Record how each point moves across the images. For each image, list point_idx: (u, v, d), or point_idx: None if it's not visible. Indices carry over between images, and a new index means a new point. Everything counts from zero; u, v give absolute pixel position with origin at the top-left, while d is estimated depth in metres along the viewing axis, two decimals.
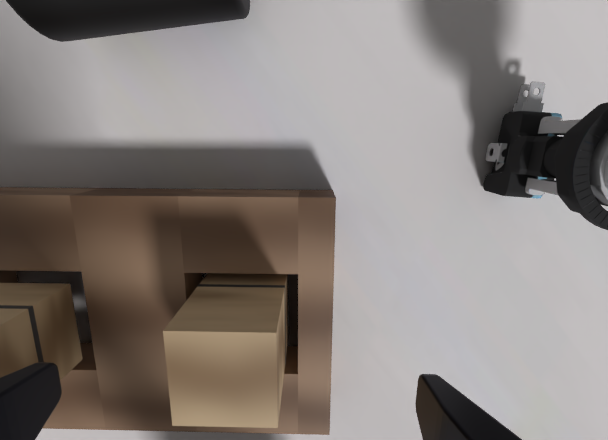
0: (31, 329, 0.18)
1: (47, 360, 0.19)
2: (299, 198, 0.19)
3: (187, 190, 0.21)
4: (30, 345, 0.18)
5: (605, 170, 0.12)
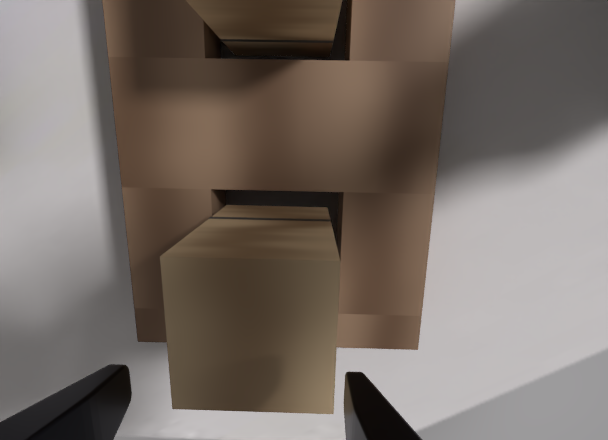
0: (235, 219, 0.14)
1: (290, 217, 0.15)
2: None
3: None
4: (253, 221, 0.14)
5: None
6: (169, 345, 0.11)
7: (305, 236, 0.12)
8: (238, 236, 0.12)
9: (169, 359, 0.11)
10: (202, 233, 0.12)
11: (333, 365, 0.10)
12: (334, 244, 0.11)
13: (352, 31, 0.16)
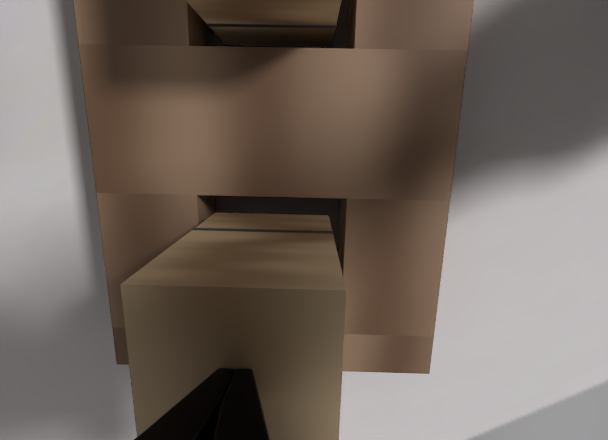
0: (223, 231, 0.13)
1: (286, 228, 0.13)
2: None
3: None
4: (242, 233, 0.12)
5: None
6: (135, 390, 0.09)
7: (302, 254, 0.10)
8: (222, 253, 0.10)
9: (135, 408, 0.09)
10: (180, 250, 0.10)
11: (337, 416, 0.09)
12: (338, 265, 0.09)
13: (358, 14, 0.14)
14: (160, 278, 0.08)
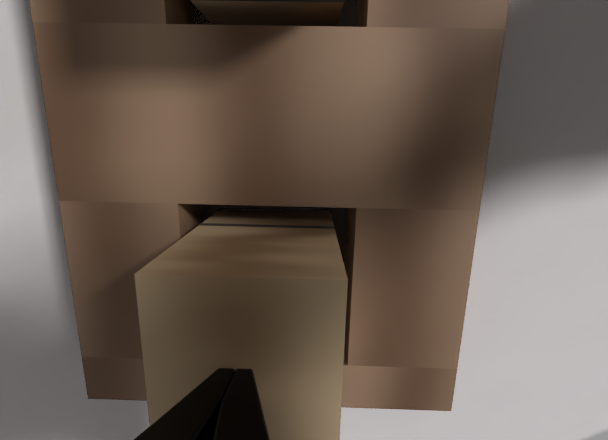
0: (228, 226, 0.13)
1: (289, 224, 0.14)
2: None
3: None
4: (247, 228, 0.13)
5: None
6: (147, 375, 0.09)
7: (305, 247, 0.11)
8: (229, 246, 0.11)
9: (147, 392, 0.09)
10: (188, 243, 0.11)
11: (339, 400, 0.09)
12: (340, 257, 0.10)
13: None
14: (171, 268, 0.09)
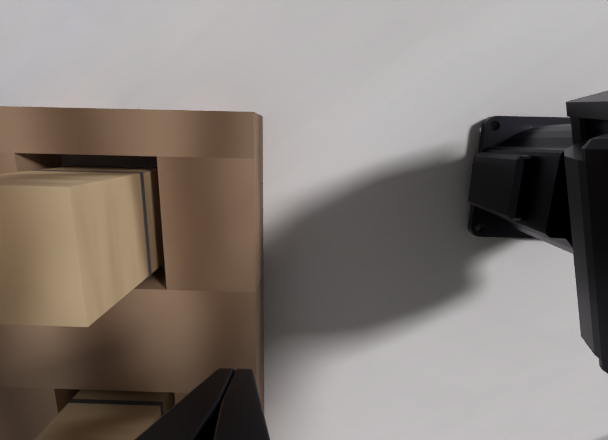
0: (88, 404, 0.19)
1: (134, 397, 0.20)
2: None
3: None
4: (99, 408, 0.19)
5: None
6: None
7: None
8: None
9: None
10: (44, 438, 0.17)
11: None
12: None
13: (166, 267, 0.17)
14: None
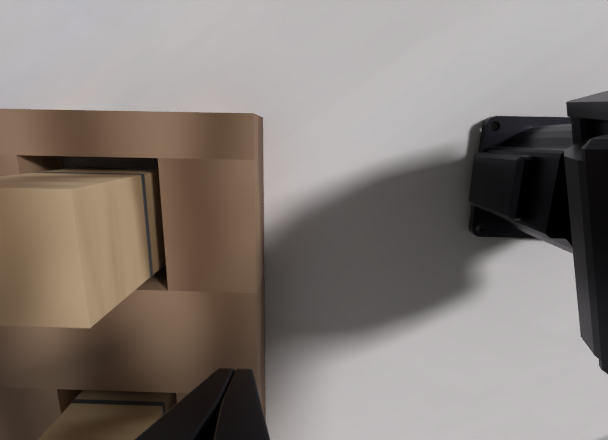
0: (90, 404, 0.19)
1: (136, 397, 0.20)
2: None
3: None
4: (101, 408, 0.19)
5: None
6: None
7: None
8: None
9: None
10: (47, 438, 0.17)
11: None
12: None
13: (167, 268, 0.17)
14: None
